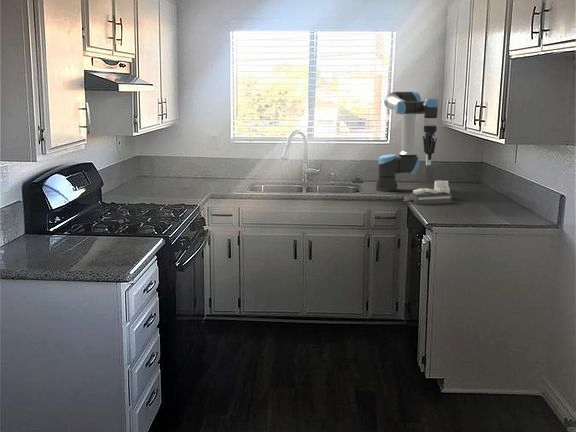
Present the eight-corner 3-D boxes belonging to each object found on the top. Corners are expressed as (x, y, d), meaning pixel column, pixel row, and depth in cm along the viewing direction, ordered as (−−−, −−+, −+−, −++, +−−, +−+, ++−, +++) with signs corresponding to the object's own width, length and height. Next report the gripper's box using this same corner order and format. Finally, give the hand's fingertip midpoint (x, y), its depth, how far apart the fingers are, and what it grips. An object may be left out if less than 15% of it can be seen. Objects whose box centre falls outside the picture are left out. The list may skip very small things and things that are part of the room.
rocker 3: (435, 190, 387) (436, 187, 387) (444, 191, 389) (444, 188, 389) (439, 191, 382) (440, 188, 382) (448, 192, 384) (449, 190, 384)
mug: (454, 199, 397) (455, 182, 395) (443, 200, 393) (444, 183, 391) (441, 196, 407) (442, 180, 405) (431, 197, 404) (431, 180, 402)
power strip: (400, 202, 384) (400, 193, 383) (443, 200, 392) (444, 191, 391) (407, 205, 376) (407, 196, 375) (451, 202, 384) (452, 193, 383)
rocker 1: (413, 193, 383) (412, 190, 383) (422, 190, 385) (421, 187, 384) (416, 194, 379) (416, 191, 378) (426, 191, 380) (425, 189, 379)
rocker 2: (424, 190, 385) (424, 187, 385) (433, 192, 387) (433, 189, 387) (428, 191, 380) (428, 188, 380) (437, 193, 382) (437, 190, 382)
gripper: (419, 124, 384) (417, 163, 389) (430, 126, 372) (428, 166, 377) (430, 124, 387) (428, 163, 392) (441, 125, 374) (439, 166, 380)
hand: (428, 165), depth 384 cm, fingers closed
